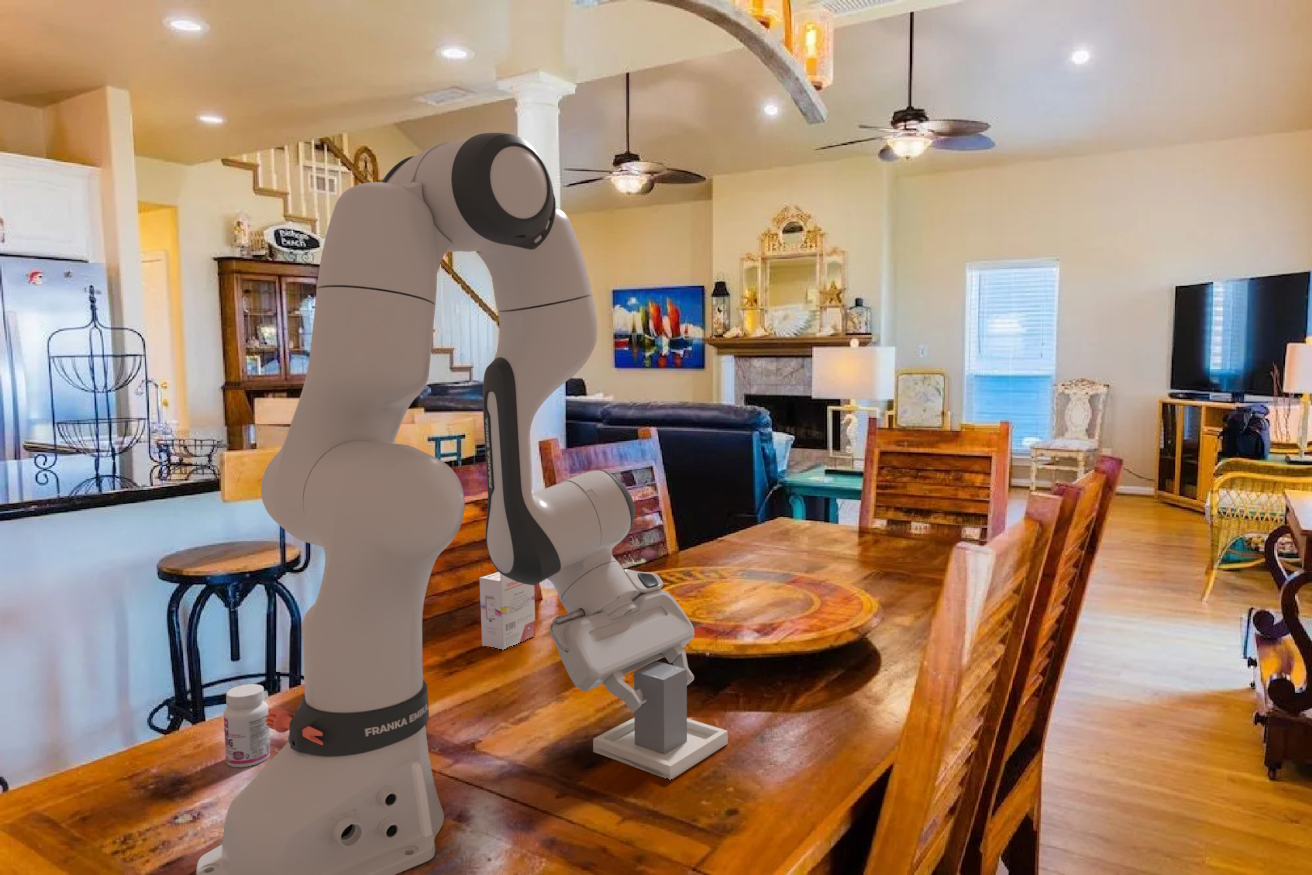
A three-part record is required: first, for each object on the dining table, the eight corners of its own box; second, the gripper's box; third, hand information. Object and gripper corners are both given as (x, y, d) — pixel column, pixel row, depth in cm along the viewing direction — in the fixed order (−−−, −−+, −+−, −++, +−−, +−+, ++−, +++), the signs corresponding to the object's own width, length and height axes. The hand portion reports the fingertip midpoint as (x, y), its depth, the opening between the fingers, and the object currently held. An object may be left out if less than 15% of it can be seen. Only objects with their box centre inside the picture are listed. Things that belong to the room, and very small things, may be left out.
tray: (670, 780, 94) (670, 766, 94) (593, 751, 101) (593, 738, 101) (727, 743, 103) (727, 730, 103) (653, 719, 110) (653, 707, 110)
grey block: (664, 754, 99) (663, 679, 98) (634, 744, 102) (634, 671, 101) (686, 741, 103) (686, 669, 102) (657, 731, 105) (657, 661, 105)
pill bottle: (216, 764, 99) (212, 693, 98) (250, 747, 103) (247, 680, 103) (245, 771, 97) (242, 700, 96) (279, 754, 101) (276, 685, 101)
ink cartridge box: (514, 632, 148) (512, 549, 146) (536, 637, 145) (534, 552, 144) (479, 646, 140) (477, 559, 139) (502, 651, 138) (500, 562, 136)
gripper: (556, 605, 97) (622, 709, 92) (665, 571, 113) (726, 658, 108) (530, 636, 100) (592, 738, 95) (640, 598, 116) (698, 684, 111)
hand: (664, 695), depth 101 cm, fingers open, 8 cm apart
